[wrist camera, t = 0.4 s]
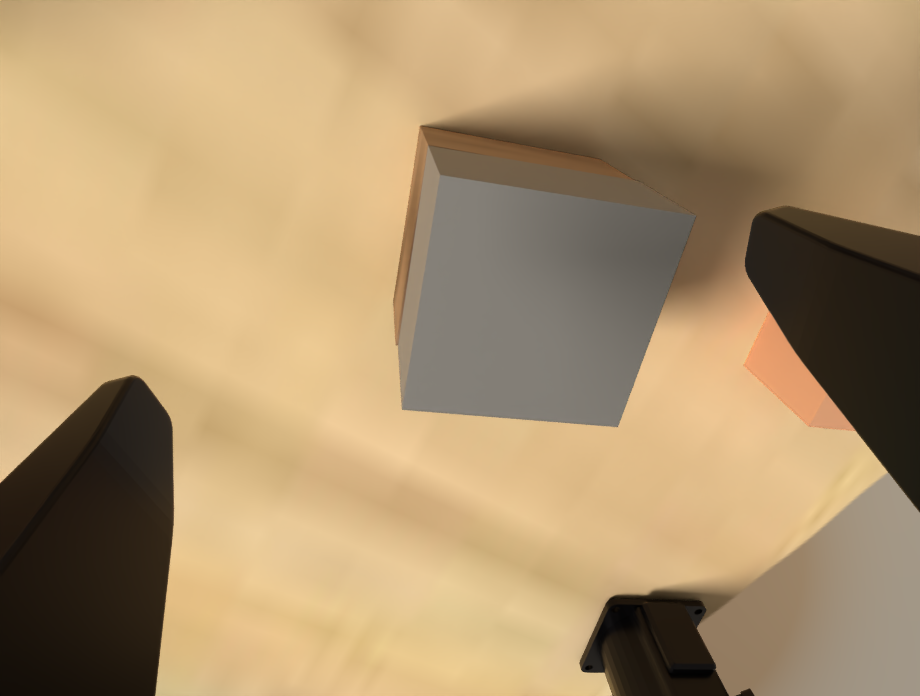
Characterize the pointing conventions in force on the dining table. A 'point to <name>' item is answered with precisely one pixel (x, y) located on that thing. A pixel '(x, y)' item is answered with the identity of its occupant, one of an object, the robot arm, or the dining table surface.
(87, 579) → the robot arm
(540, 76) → the dining table surface
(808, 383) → the terracotta cube
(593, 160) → the tower base
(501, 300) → the tower top
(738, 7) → the dining table surface
